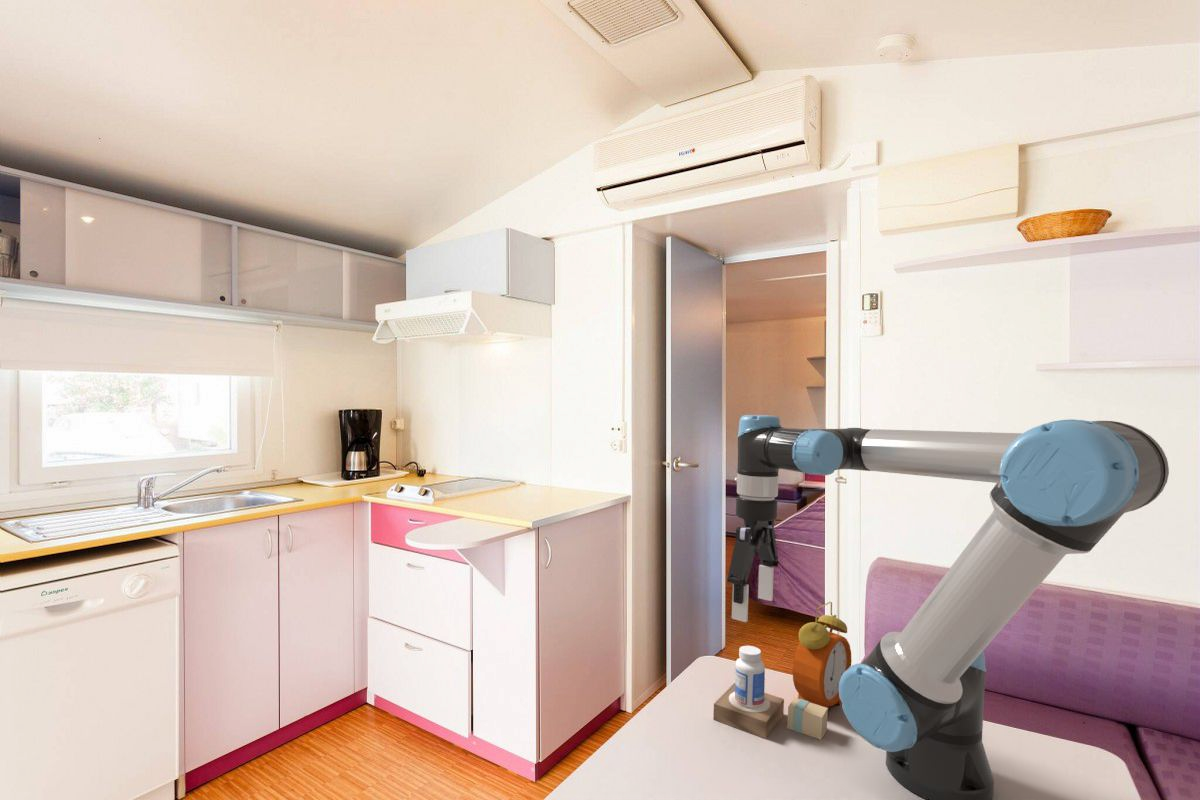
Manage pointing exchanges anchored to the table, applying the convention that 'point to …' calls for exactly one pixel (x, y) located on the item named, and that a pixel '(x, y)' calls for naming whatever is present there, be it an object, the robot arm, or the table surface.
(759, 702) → the pill bottle
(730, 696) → the podium
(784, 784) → the table surface
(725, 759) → the table surface
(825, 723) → the carton
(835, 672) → the alarm clock
